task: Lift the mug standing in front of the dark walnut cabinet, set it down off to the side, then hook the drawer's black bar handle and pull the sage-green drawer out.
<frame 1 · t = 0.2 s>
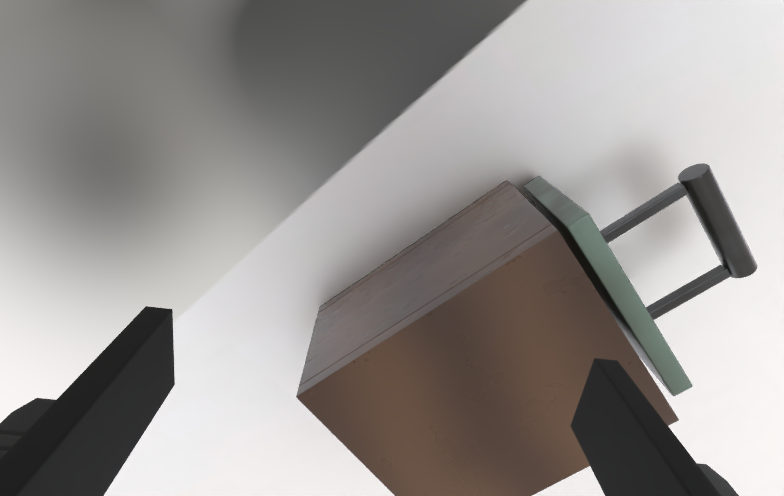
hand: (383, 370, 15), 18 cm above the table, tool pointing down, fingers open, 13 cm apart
drawer: (553, 309, 29), point 5 cm above the table, slide at 0.5 cm
cabinet: (463, 317, 35), on the table
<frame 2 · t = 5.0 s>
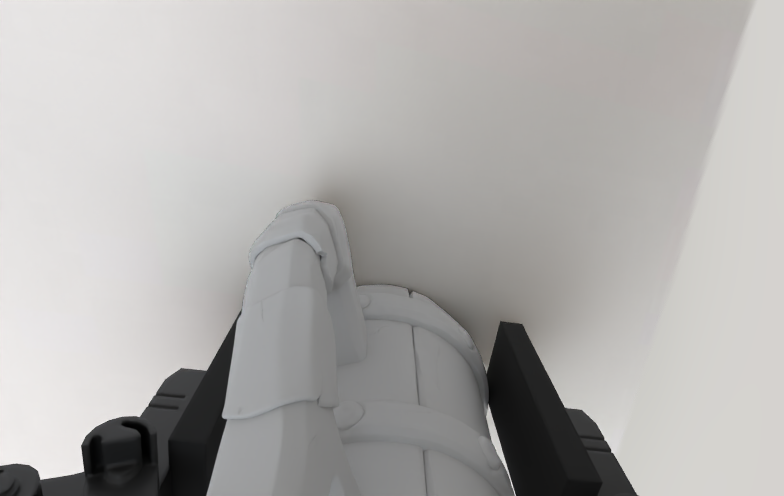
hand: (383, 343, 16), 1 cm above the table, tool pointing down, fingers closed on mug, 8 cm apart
mug: (363, 318, 18), on the table, touching gripper
when the fingers open (1 cm above the table, at t = 11.5 s): mug stays where it is, on the table.
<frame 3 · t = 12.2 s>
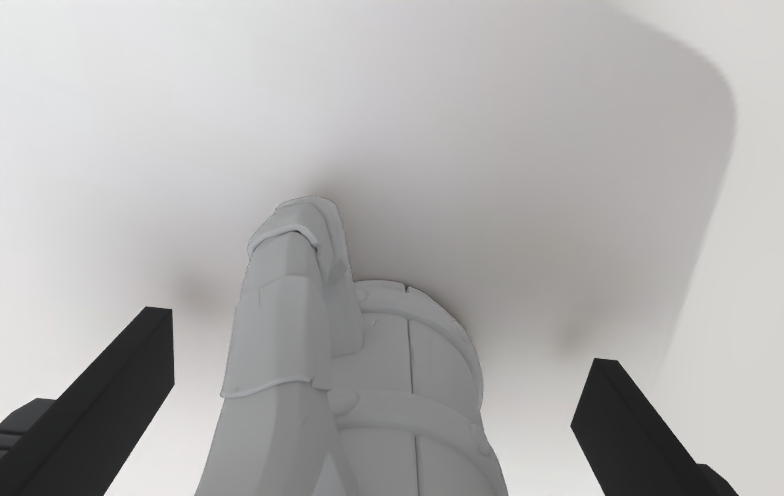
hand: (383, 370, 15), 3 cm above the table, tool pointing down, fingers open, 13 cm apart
mug: (361, 312, 18), on the table
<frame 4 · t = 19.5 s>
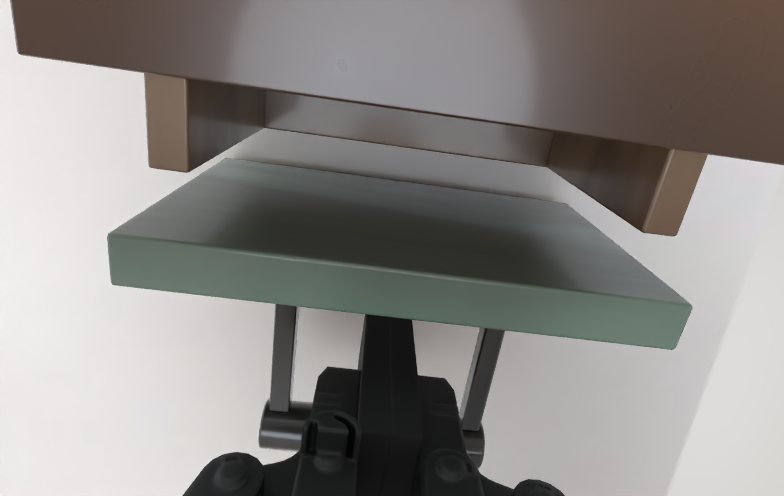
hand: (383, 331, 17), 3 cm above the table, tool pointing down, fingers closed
drawer: (420, 117, 13), point 5 cm above the table, slide at 3.3 cm, touching gripper
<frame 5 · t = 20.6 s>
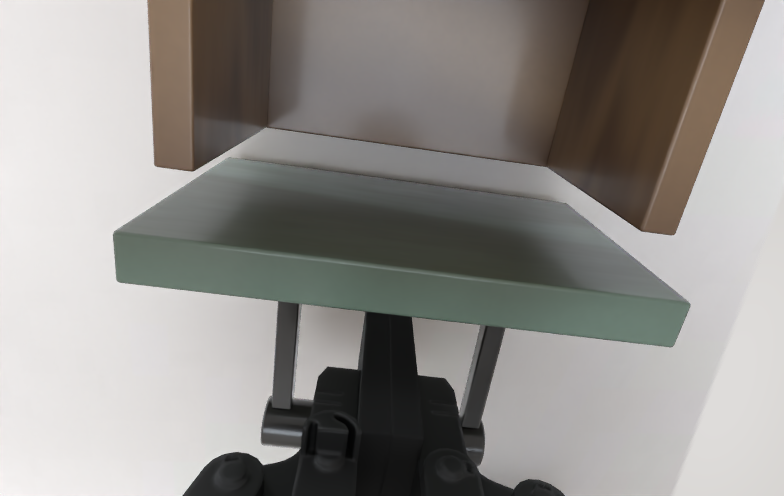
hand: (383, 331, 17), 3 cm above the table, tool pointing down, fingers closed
drawer: (421, 117, 13), point 5 cm above the table, slide at 7.3 cm, touching gripper
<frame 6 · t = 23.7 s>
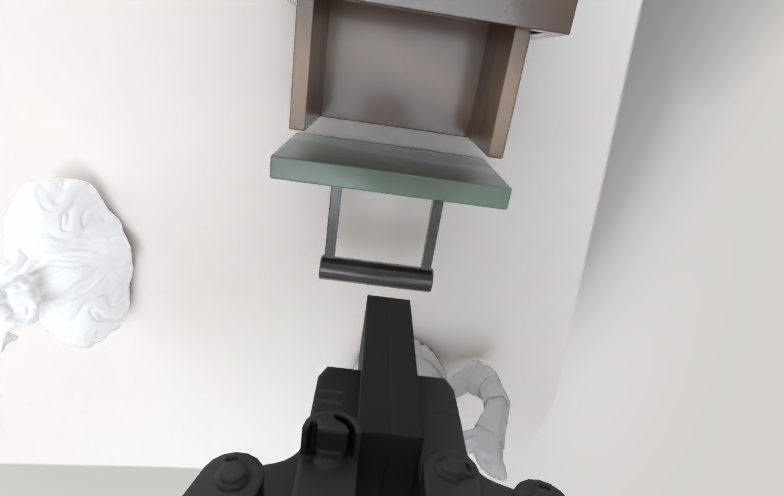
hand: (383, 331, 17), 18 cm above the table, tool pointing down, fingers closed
drawer: (399, 109, 27), point 5 cm above the table, slide at 7.5 cm
mug: (421, 365, 40), on the table
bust: (91, 246, 36), on the table
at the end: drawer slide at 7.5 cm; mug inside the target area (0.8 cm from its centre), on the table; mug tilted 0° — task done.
